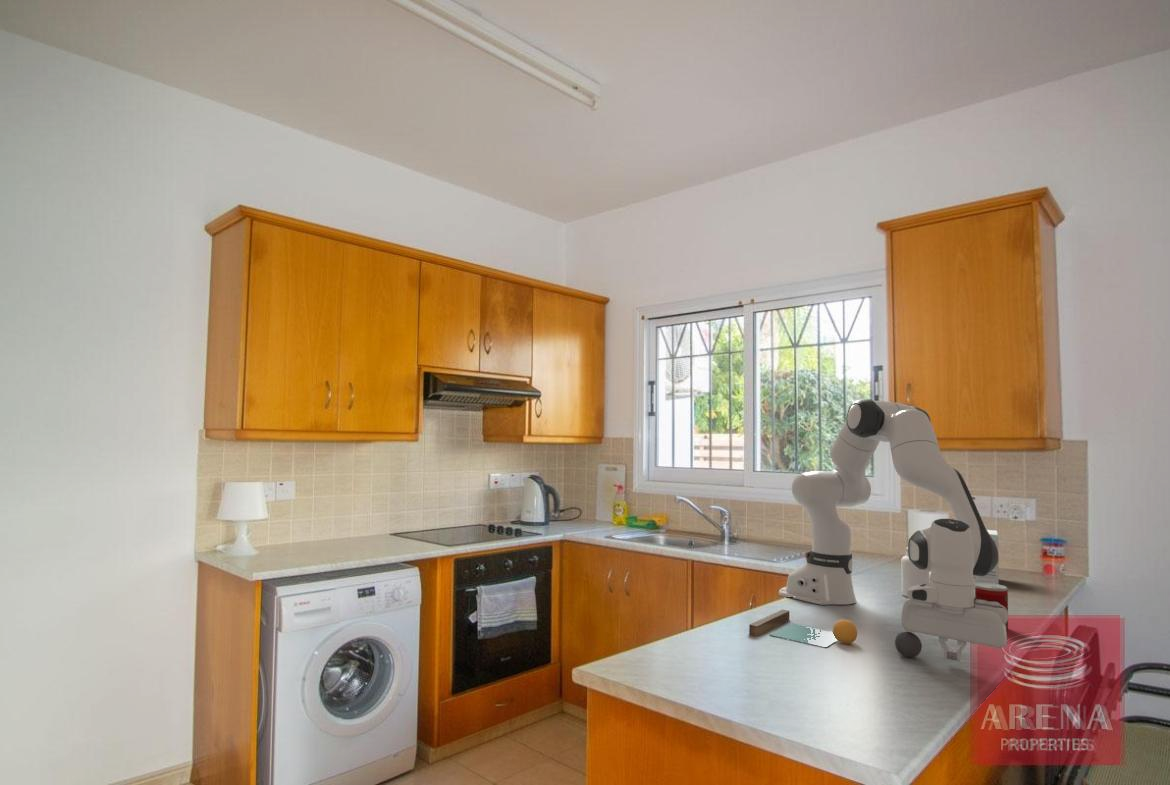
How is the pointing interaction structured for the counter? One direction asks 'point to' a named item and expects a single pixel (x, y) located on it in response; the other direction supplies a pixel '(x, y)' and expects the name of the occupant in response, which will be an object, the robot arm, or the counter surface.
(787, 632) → the teal mark
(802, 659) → the counter surface
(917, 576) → the pill bottle
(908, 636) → the dark grey ball
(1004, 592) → the canned food
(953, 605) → the robot arm
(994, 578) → the supplement box
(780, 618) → the bar
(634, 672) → the counter surface
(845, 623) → the orange ball
